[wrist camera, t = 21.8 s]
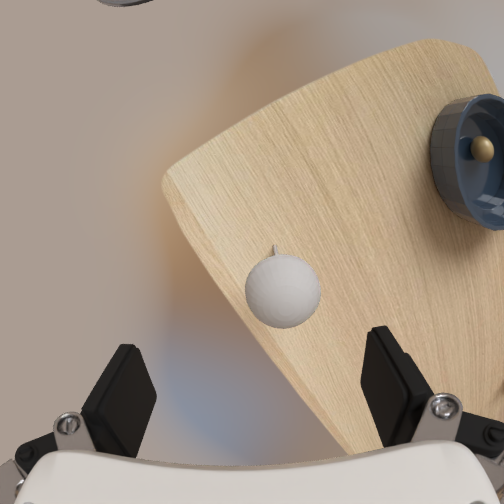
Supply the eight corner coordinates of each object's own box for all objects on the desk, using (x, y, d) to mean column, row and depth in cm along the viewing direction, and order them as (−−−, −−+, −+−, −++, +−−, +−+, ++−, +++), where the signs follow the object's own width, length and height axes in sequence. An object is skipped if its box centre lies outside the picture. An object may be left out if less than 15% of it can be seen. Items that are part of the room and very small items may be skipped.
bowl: (421, 90, 28) (446, 82, 22) (504, 109, 27) (530, 107, 21) (428, 222, 33) (453, 234, 27) (507, 218, 32) (532, 227, 27)
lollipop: (309, 253, 35) (342, 317, 21) (269, 280, 36) (275, 356, 22) (280, 210, 33) (297, 251, 19) (238, 240, 34) (225, 299, 20)
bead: (476, 126, 27) (487, 144, 25) (491, 137, 27) (502, 155, 25) (462, 143, 30) (471, 162, 28) (477, 153, 30) (486, 171, 28)
